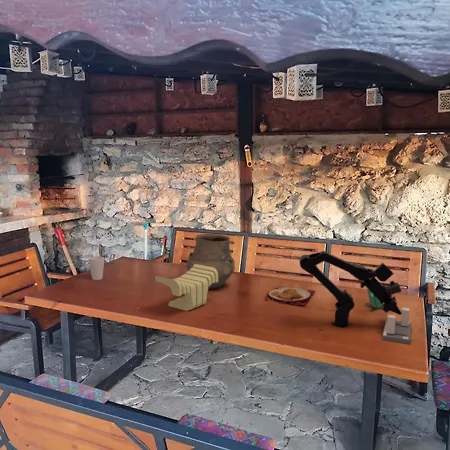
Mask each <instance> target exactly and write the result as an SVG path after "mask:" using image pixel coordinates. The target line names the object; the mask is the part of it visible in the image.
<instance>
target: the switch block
mask: <svg viewBox="0 0 450 450" xmlns="http://www.w3.org/2000/svg"><path fill="white" fill-rule="evenodd" d="M387 322H388V318H386V319H385V322H384V327H383V332H382V337H381V340H382V341H387V342H393V343H398V344H406V345H411V340H412V339H411V338H412V322H409V321H408V326H402V325H401V320H400V321H399V320H395V333H394V334H388V333H387Z"/></svg>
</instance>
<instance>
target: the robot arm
mask: <svg viewBox="0 0 450 450" xmlns="http://www.w3.org/2000/svg"><path fill="white" fill-rule="evenodd" d="M323 262H325V263H328V264H329V265H332V266H334V267H336V268H338V269H341V270H343V271H345V272H347V273H348V274H350V275H351V276H353V277H354V278H355V279H357V280H358V281H360V282H359V283H360V289H363V288H364V287H365V288H368V289H369V290H370V292H371V293H372V294H373V296H374V297H376V298H377V299H378V300H379V301H380V303H381V304H382V303H383V305H382V307H381V309H382V310H383V312H384V313H386V314H387V313H388V312H392V313H395V314H397V315H399V316H401V315H402V310H400V308H399V306H398V302H397V299H396V297H395V296H393V295H396V294H398V293H399V294H400V293H401V292H402V288H401V286H400V285H399V282H395V281H394V280H390V281H389V284H388V285H387V286H385V285H384V284H382V283H384V282H386V281H388V280H389V279H390V278H391V277H392V276H393V275H394V274H395V273H394V272H393V270H392V269H390V268H389V266H387V265H386V264H384V262H381V263H380V265H378V266H377V267H376V268H375V269H373V268H366V267H365V266H364V265H361V264H357V263H351V262H348V261H346V260H344V259H342V258H339V257H337V256H336V255H334V254H331V253H330V252H327V251H326V250H322V251H320V252H316V253H315V252H314V253H311V254H303V255H301V256H300V257H299V262H298V263H299V266H300V268H301V269H302V270H303V271H305V272H307V274H309V275H311V276H313V277H314V278H316V281H318V282H319V283H320V284H321V285H323V286H324V288H326V290H327V291H328V292H330V294H332V295H333V296H334V298H335V300H336V303H334V307H335V309H336V310H335V312H334V321H332V322H331V325H334V326H337V327H340V328H343V329H344V328H346V327H348V326H351V325H352V323H351V322H350V321H349V320H350V312H351V311H352V310H353V309H354V307H355V301H354V298H353V296H352V294H351V293H349V292H348V291H347V289H344V290H342V289H340V288H339V287H338V286H337V285H336V284H335V283H334V282H333V281H332V280H331V279H330V278H329V277H328V276H327V275H325V273H324V272H323V271H322V270H321V269H320V268H319V267H318V266H317V265H319V264H321V263H323ZM323 286H322V287H323Z"/></svg>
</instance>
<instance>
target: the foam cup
mask: <svg viewBox="0 0 450 450" xmlns="http://www.w3.org/2000/svg"><path fill="white" fill-rule="evenodd" d="M88 263H89V269H90V273H91V279H92V280H94V281H99V280H102V279H103V277H104V268H105V257H104V256H99V255H97V256H91V257H89V258H88Z"/></svg>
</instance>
